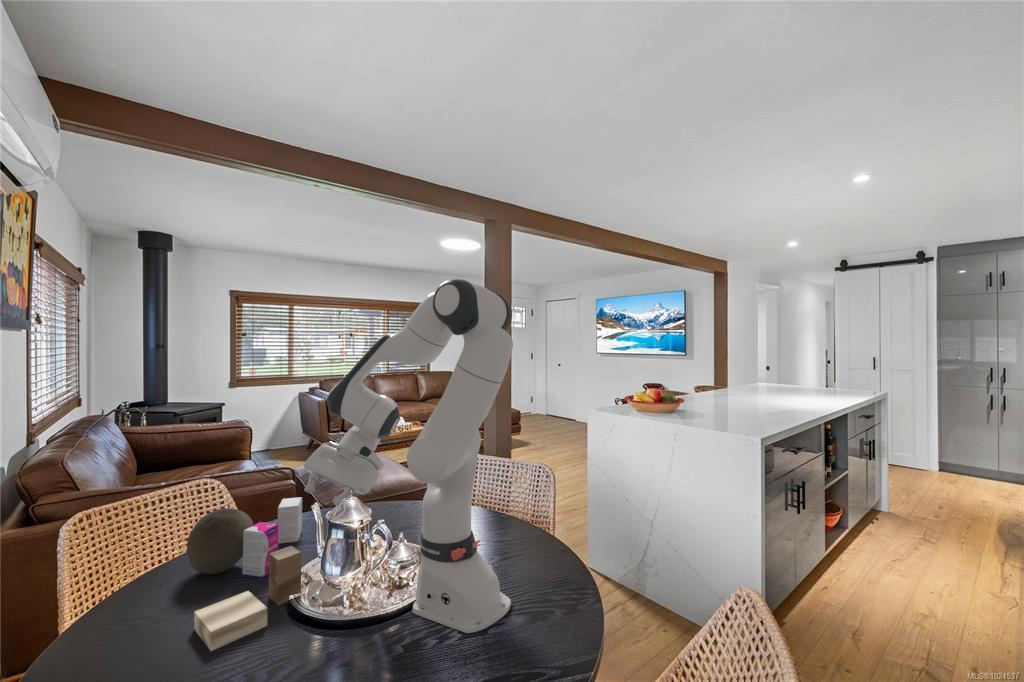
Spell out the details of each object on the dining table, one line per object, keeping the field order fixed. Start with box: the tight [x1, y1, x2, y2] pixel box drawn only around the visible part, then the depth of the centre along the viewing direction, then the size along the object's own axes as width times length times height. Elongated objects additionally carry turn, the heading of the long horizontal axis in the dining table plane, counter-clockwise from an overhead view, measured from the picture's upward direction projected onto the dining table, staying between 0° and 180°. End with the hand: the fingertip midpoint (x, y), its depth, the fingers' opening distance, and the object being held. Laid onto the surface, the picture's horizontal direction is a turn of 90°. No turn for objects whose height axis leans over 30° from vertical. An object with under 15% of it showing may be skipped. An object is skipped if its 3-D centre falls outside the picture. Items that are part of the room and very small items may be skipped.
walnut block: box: [268, 545, 302, 606], centre depth 103 cm, size 5×5×10 cm
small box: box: [277, 496, 303, 545], centre depth 134 cm, size 8×6×10 cm
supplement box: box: [241, 521, 279, 579], centre depth 114 cm, size 6×6×12 cm
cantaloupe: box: [186, 507, 254, 575], centre depth 115 cm, size 14×14×15 cm
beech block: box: [193, 590, 268, 652], centre depth 92 cm, size 10×10×4 cm
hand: (320, 498), depth 112 cm, fingers open, 8 cm apart
